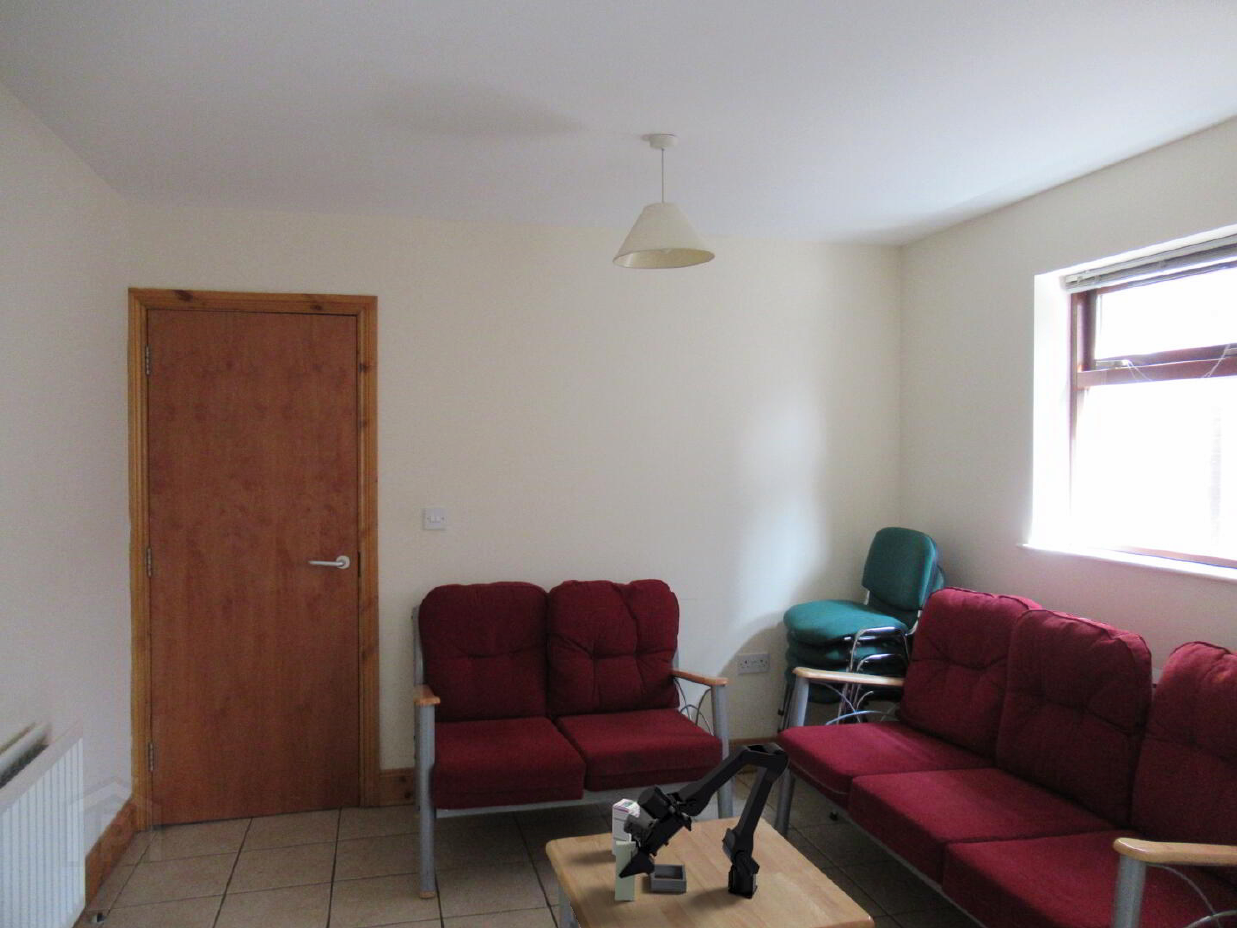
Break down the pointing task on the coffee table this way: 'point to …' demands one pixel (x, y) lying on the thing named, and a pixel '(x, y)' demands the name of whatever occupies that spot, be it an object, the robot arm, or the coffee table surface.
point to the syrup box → (622, 820)
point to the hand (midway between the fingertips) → (619, 869)
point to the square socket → (669, 884)
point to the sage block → (623, 856)
